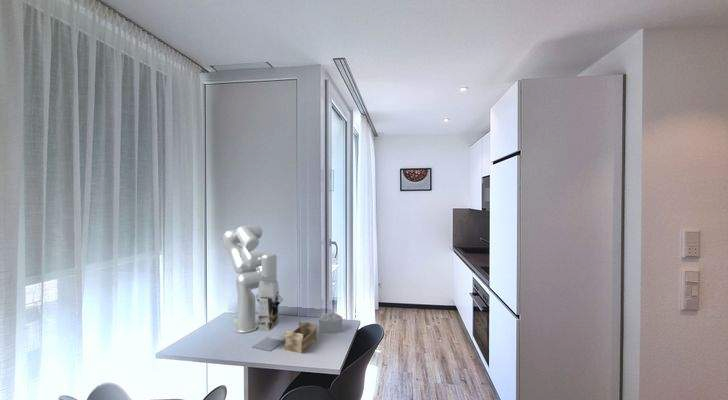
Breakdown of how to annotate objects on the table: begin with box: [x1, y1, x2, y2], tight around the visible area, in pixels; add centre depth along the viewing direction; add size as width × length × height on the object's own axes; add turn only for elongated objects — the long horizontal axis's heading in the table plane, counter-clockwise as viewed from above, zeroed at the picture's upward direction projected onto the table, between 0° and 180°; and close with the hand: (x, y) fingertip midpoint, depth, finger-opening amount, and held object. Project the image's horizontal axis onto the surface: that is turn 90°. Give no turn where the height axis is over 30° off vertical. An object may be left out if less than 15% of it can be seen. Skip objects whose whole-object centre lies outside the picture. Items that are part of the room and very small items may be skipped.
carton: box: [284, 320, 317, 354], centre depth 151 cm, size 10×13×9 cm
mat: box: [251, 336, 285, 352], centre depth 151 cm, size 11×11×1 cm
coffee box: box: [258, 297, 279, 332], centre depth 151 cm, size 9×6×16 cm
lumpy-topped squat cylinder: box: [318, 311, 343, 335], centre depth 169 cm, size 10×13×9 cm
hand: (268, 312), depth 151 cm, fingers closed on coffee box, 7 cm apart
